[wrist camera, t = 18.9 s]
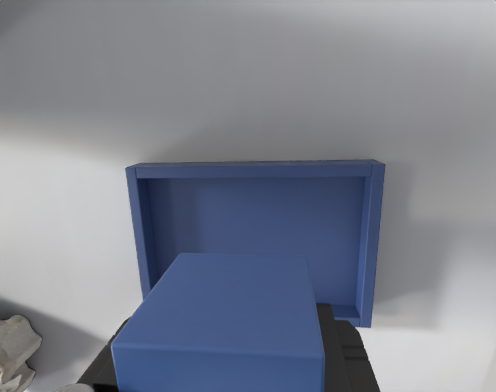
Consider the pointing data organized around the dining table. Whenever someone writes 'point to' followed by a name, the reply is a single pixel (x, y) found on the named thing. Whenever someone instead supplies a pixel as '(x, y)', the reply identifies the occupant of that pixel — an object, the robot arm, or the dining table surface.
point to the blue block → (224, 328)
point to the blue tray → (265, 220)
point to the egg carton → (16, 353)
